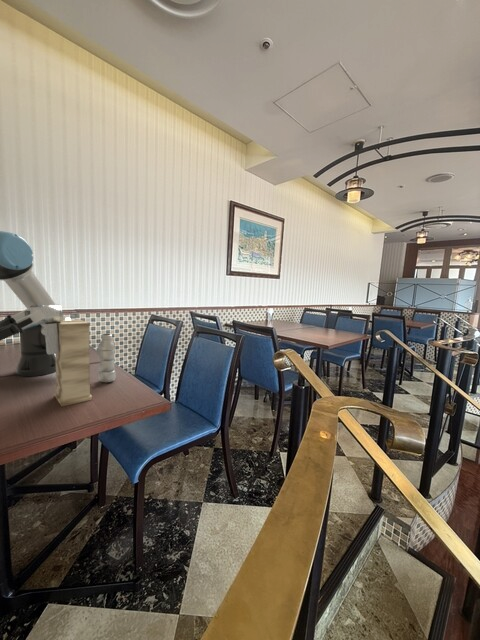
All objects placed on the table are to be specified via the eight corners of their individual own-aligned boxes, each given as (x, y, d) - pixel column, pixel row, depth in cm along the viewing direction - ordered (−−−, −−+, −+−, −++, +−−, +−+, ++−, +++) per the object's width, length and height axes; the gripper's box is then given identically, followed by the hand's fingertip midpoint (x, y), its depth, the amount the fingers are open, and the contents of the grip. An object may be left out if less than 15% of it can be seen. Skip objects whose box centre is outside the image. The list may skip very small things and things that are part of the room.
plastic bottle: (109, 385, 106) (108, 336, 104) (94, 383, 107) (93, 334, 105) (119, 380, 112) (119, 333, 110) (105, 378, 114) (105, 332, 112)
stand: (54, 395, 93) (52, 320, 91) (83, 390, 100) (82, 319, 97) (61, 406, 86) (59, 324, 83) (92, 399, 92) (91, 323, 89)
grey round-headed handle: (61, 349, 91) (28, 354, 85) (57, 303, 89) (22, 305, 83) (65, 353, 87) (30, 358, 81) (61, 304, 85) (25, 306, 78)
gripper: (-32, 353, 82) (40, 317, 94) (-35, 373, 64) (55, 326, 76) (-51, 333, 79) (26, 298, 90) (-60, 349, 61) (38, 303, 73)
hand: (39, 311), depth 83 cm, fingers open, 13 cm apart
